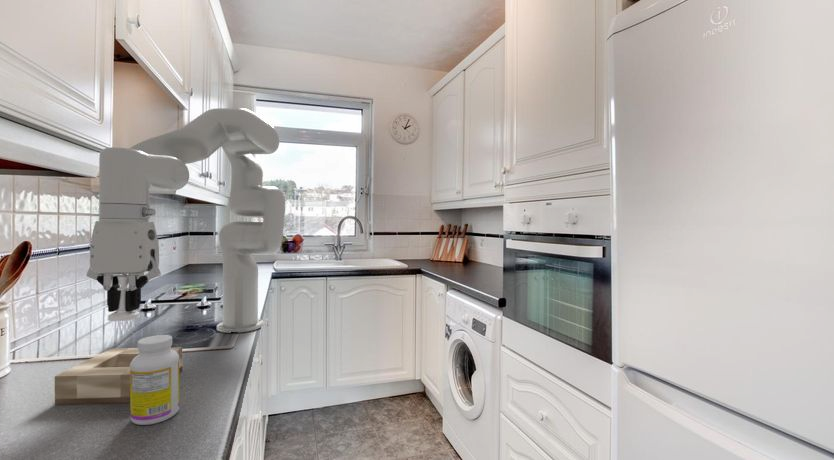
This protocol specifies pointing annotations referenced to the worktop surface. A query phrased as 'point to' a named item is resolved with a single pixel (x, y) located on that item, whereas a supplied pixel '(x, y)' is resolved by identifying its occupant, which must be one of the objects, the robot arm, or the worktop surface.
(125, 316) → the chess piece
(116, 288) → the robot arm
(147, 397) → the supplement bottle
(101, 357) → the socket block
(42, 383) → the worktop surface
